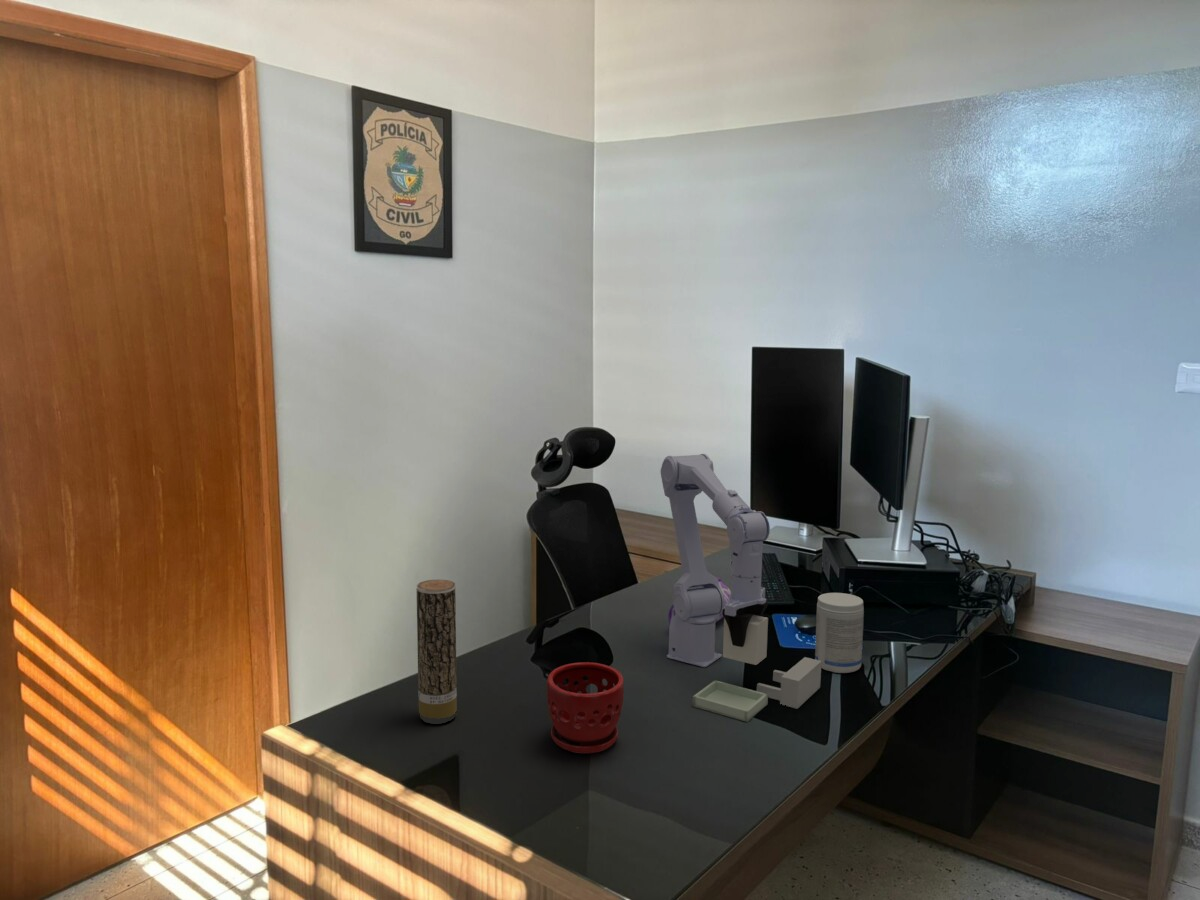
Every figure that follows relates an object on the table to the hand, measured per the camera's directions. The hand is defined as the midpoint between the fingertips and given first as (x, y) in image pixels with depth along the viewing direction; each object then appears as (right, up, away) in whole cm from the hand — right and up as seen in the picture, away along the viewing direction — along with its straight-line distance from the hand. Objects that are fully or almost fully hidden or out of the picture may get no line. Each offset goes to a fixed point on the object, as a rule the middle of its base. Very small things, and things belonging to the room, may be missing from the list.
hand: (744, 641), depth 172 cm
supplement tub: (+22, -8, +14) cm, 28 cm away
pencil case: (-4, -5, +38) cm, 38 cm away
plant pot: (-31, -13, -21) cm, 39 cm away
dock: (+9, -10, +1) cm, 13 cm away
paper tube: (-58, -11, -12) cm, 60 cm away
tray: (-4, -11, -6) cm, 13 cm away
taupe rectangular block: (0, -3, 0) cm, 3 cm away
